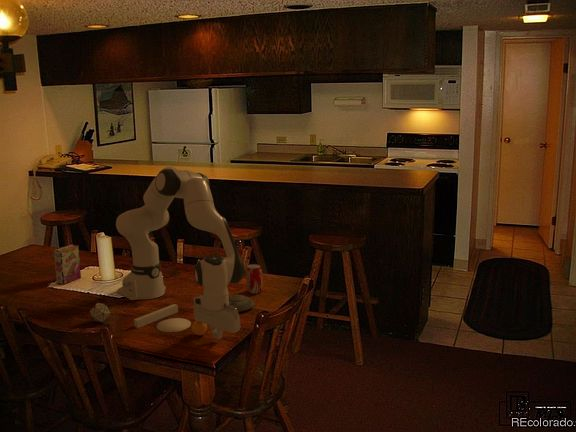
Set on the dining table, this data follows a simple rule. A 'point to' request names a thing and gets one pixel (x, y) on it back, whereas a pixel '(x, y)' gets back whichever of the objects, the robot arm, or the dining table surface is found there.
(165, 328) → the disc
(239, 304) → the flying saucer
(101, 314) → the game die
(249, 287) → the soda can
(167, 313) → the bar
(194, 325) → the ball
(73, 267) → the candy bar box
